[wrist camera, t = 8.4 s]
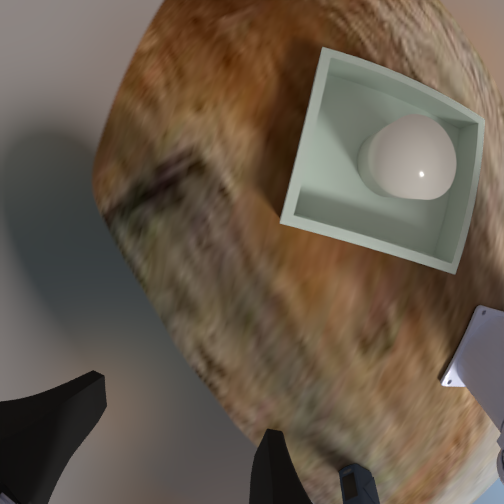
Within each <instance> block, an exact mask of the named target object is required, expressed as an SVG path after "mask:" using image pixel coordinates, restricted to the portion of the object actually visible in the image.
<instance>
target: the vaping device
mask: <svg viewBox="0 0 504 504" xmlns="http://www.w3.org/2000/svg"><path fill="white" fill-rule="evenodd" d="M339 477H340V484H341V491H342V499H343V504H380V502H379V497H378V493H377V489H376V484H375V480H374V477H372V474H371V472H369V471H368V470H366V469H364V468H363V467H361V466H359V465H358V464H353V465H349V466H347V467H345V468H343V469H342V470H341V471H339Z"/></svg>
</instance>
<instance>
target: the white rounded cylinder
mask: <svg viewBox="0 0 504 504" xmlns="http://www.w3.org/2000/svg"><path fill="white" fill-rule="evenodd" d="M357 166H358V171H359V174H360V177H361V179H362V180H363V182H364V184H365V185H366V186H367V187H368V188H369V189H370V190H371V191H372V192H374V193H375V194H377V195H379V196H382V197H387V198H406V199H422V200H431V199H435V198H438V197H440V196H441V195H443V194H444V193H445V192H446V191H447V190H448V189H449V188H450V186H451V184H452V183H453V180H454V177H455V174H456V154H455V150H454V147H453V144H452V142H451V140H450V138H449V136H448V134H447V133H446V131H445V130H444V129H443V128H442V127H441V126H440V125H439V124H438V123H437V122H436V121H434V120H433V119H431V118H429V117H427V116H424V115H420V114H409V115H406V116H403V117H401V118H399V119H398V120H396V121H394V122H393V123H391V124H389V125H387V126H386V127H384V128H382V129H381V130H379V131H377V132H376V133H374V134H372V135H370V136H369V137H368V138H366V139H365V140H364V142H363V143H362V144H361V146H360V148H359V151H358V156H357Z"/></svg>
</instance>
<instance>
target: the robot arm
mask: <svg viewBox="0 0 504 504" xmlns="http://www.w3.org/2000/svg"><path fill="white" fill-rule="evenodd" d="M482 312H483V313H482ZM440 383H441V385H442V386H455V387H467V389H468V390H469V391H470V392H471V394H472V395H473V396H474V398H475V399H476V400H477V401H478V403H479V404H480V405H481V407H482V408H483V409H484V411H485V412H486V413H487V415H488V416H489V417H490V419H491V420H492V421H493V423H494V424H495V425H496V427H497V428H498V430H499V431H500V432H501V435H500V437H499V438H498V440H497V443H498V445H499V446H500V448H501V450H500V452H499V454H498V457H497V470H498V474H499V477H500V480H501V482H502V483H503V485H504V312H503V311H500V310H496V309H493V308H489V307H486V306H482V305H479V306H477V307H476V309H475V311H474V314H473V316H472V318H471V321H470V323H469V325H468V328H467V330H466V332H465V334H464V336H463V339H462V341H461V343H460V345H459V347H458V349H457V351H456V353H455V355H454V357H453V359H452V361H451V362H450V364H449V366H448V368H447V370H446V372H445V373H444V375H443V377H442V379H441V381H440ZM106 407H107V402H106V392H105V377H104V375H102V374H100V373H98V372H96V371H94V370H93V371H91V372H88V373H86V374H84V375H82V376H80V377H78V378H75V379H74V380H71V381H69V382H67V383H65V384H62V385H60V386H57V387H55V388H53V389H50V390H47V391H45V392H42V393H39V394H36V395H33V396H29V397H25V398H21V399H16V400H9V401H1V402H0V504H48V502H49V499H50V497H51V495H52V492H53V490H54V488H55V486H56V483H57V481H58V480H59V477H60V476H61V474H62V472H63V470H64V468H65V466H66V465H67V463H68V461H69V459H70V458H71V456H72V455H73V454H74V452H75V451H76V450H77V448H78V447H79V446H80V445H81V443H82V442H83V441H84V439H85V438H86V437H87V436H88V434H89V433H90V432H91V431H92V429H93V428H94V427H95V425H96V424H97V423H98V421H99V419H100V418H101V416H102V414H103V412H104V411H105V409H106ZM249 504H313V503H312V502H311V500H310V499H309V497H308V495H307V494H306V492H305V490H304V488H303V486H302V484H301V482H300V480H299V478H298V476H297V473H296V471H295V468H294V466H293V463H292V461H291V458H290V455H289V452H288V449H287V446H286V443H285V439H284V435H283V433H282V431H278V430H272V429H267V430H266V432H265V434H264V436H263V439H262V441H261V443H260V445H259V447H258V449H257V451H256V454H255V456H254V461H253V466H252V472H251V482H250V498H249Z"/></svg>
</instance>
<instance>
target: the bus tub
mask: <svg viewBox="0 0 504 504" xmlns="http://www.w3.org/2000/svg"><path fill="white" fill-rule="evenodd" d="M409 114H420V115H424V116H427V117H429V118H431V119H433V120H434V121H436V122H437V123H438V124H439V125H440V126H441V127H442V128H443V129H444V130H445V131H446V133H447V134H448V136H449V138H450V140H451V142H452V144H453V147H454V150H455V154H456V174H455V177H454V180H453V183H452V184H451V186H450V188H449V189H448V190H447V191H446V192H445V193H444V194H443V195H441V196H440V197H438V198H435V199H431V200H422V199H406V198H387V197H382V196H379V195H377V194H375V193H374V192H372V191H371V190H370V189H369V188H368V187H367V186H366V185H365V184H364V182H363V180H362V179H361V177H360V174H359V171H358V166H357V156H358V151H359V148H360V146H361V144H362V143H363V142H364V140H365V139H366V138H368V137H369V136H370V135H372V134H374V133H376V132H377V131H379V130H381V129H382V128H384V127H386V126H387V125H389V124H391V123H393V122H394V121H396V120H398V119H399V118H401V117H403V116H406V115H409ZM484 127H485V119H483V118H482V117H480V116H479V115H477V114H476V113H474V112H473V111H471V110H469V109H468V108H466V107H464V106H463V105H461V104H459V103H458V102H456V101H454V100H452V99H451V98H449V97H447V96H445V95H443V94H442V93H440V92H438V91H436V90H434V89H432V88H430V87H428V86H426V85H424V84H422V83H420V82H418V81H415V80H413V79H411V78H409V77H407V76H404V75H402V74H400V73H397V72H395V71H393V70H390V69H388V68H385V67H383V66H380V65H377V64H375V63H372V62H369V61H366V60H364V59H361V58H358V57H355V56H352V55H348V54H345V53H342V52H339V51H335V50H332V49H328V48H324V47H322V50H321V54H320V57H319V61H318V64H317V68H316V73H315V77H314V81H313V86H312V90H311V94H310V99H309V103H308V107H307V111H306V115H305V120H304V124H303V128H302V132H301V136H300V140H299V144H298V149H297V153H296V157H295V161H294V165H293V169H292V173H291V177H290V181H289V185H288V189H287V193H286V197H285V201H284V204H283V208H282V212H281V216H280V223H281V224H285V225H288V226H292V227H296V228H300V229H303V230H307V231H311V232H314V233H318V234H322V235H325V236H329V237H333V238H336V239H340V240H343V241H347V242H350V243H354V244H357V245H361V246H364V247H367V248H371V249H374V250H378V251H381V252H384V253H388V254H391V255H394V256H398V257H401V258H404V259H407V260H411V261H414V262H417V263H420V264H423V265H426V266H430V267H433V268H436V269H439V270H442V271H445V272H448V273H451V274H454V275H455V274H456V271H457V268H458V265H459V262H460V258H461V255H462V252H463V248H464V245H465V241H466V237H467V234H468V230H469V226H470V222H471V217H472V213H473V208H474V203H475V198H476V193H477V187H478V181H479V175H480V168H481V160H482V151H483V141H484Z"/></svg>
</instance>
